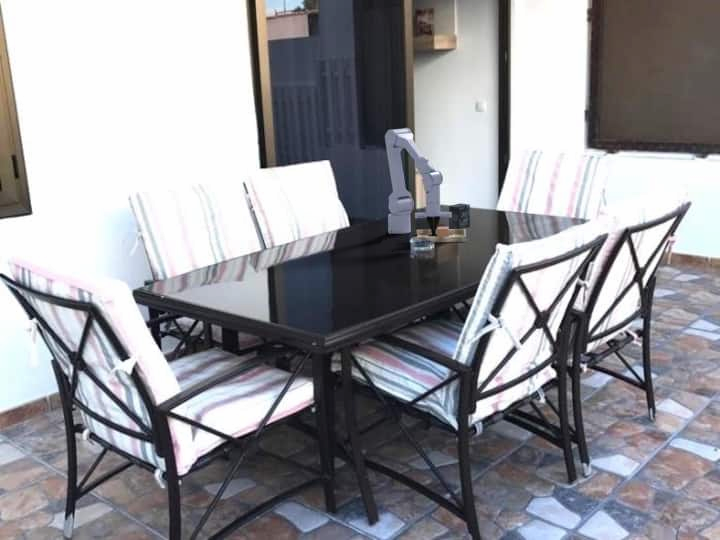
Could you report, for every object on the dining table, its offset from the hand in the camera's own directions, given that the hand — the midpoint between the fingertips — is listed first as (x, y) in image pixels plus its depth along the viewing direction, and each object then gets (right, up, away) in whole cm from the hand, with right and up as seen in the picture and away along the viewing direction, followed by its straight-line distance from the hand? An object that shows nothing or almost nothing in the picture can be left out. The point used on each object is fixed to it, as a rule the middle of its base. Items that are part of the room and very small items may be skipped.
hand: (433, 235), depth 295 cm
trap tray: (+3, -2, 0) cm, 3 cm away
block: (+4, -1, 0) cm, 4 cm away
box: (+13, +3, +21) cm, 25 cm away
